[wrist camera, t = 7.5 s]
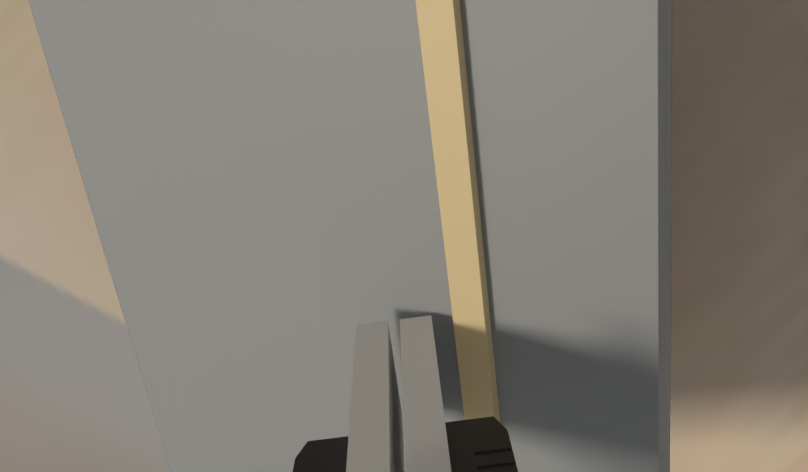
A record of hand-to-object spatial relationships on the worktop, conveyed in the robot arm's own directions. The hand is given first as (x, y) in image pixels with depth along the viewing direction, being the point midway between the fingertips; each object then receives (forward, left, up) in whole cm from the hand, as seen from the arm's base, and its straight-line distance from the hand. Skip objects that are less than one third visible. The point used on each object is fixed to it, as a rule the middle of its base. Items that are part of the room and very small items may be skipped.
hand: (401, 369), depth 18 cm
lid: (0, -1, -3) cm, 3 cm away
